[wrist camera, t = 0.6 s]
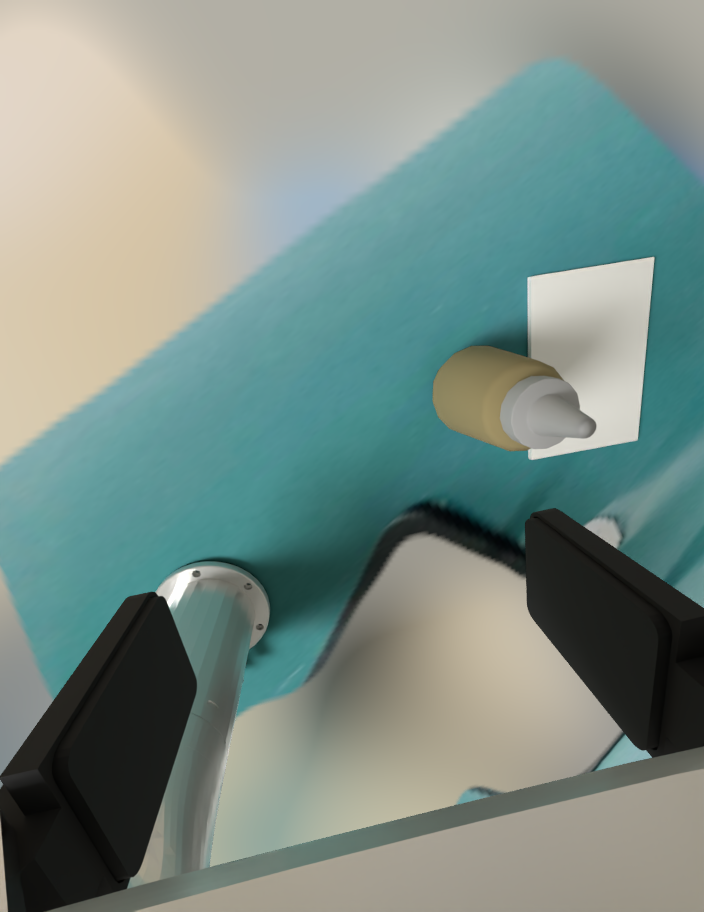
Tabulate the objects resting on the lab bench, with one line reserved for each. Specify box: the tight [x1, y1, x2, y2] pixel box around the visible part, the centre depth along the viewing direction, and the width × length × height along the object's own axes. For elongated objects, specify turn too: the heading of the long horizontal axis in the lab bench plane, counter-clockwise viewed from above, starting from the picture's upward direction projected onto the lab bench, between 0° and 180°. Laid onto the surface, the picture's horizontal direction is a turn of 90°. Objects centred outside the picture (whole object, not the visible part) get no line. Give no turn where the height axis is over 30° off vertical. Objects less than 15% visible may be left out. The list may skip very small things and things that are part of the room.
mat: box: [528, 257, 654, 460], centre depth 38 cm, size 18×12×1 cm, turn 9°
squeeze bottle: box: [433, 346, 596, 451], centre depth 29 cm, size 8×8×18 cm
